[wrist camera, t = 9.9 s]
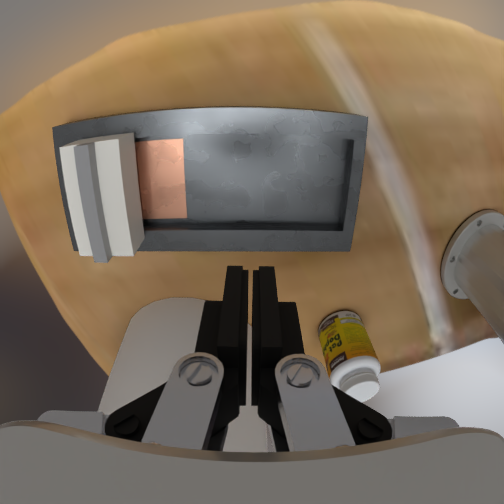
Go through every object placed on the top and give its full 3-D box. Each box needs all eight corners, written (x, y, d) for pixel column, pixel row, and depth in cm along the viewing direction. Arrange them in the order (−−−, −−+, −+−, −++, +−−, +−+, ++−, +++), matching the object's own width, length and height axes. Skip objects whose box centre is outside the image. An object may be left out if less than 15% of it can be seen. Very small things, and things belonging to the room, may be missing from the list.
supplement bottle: (328, 305, 34) (351, 375, 25) (368, 312, 35) (398, 376, 26) (309, 339, 36) (325, 407, 27) (348, 344, 37) (369, 408, 28)
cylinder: (163, 269, 31) (84, 565, 6) (289, 341, 36) (323, 575, 12) (109, 353, 37) (54, 541, 13) (213, 402, 43) (206, 575, 18)
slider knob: (139, 130, 22) (112, 141, 17) (149, 230, 27) (130, 262, 22) (87, 136, 22) (52, 150, 17) (100, 230, 26) (75, 261, 21)
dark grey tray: (355, 114, 24) (368, 117, 21) (340, 236, 29) (349, 251, 27) (69, 122, 23) (52, 127, 20) (86, 237, 29) (74, 251, 26)
